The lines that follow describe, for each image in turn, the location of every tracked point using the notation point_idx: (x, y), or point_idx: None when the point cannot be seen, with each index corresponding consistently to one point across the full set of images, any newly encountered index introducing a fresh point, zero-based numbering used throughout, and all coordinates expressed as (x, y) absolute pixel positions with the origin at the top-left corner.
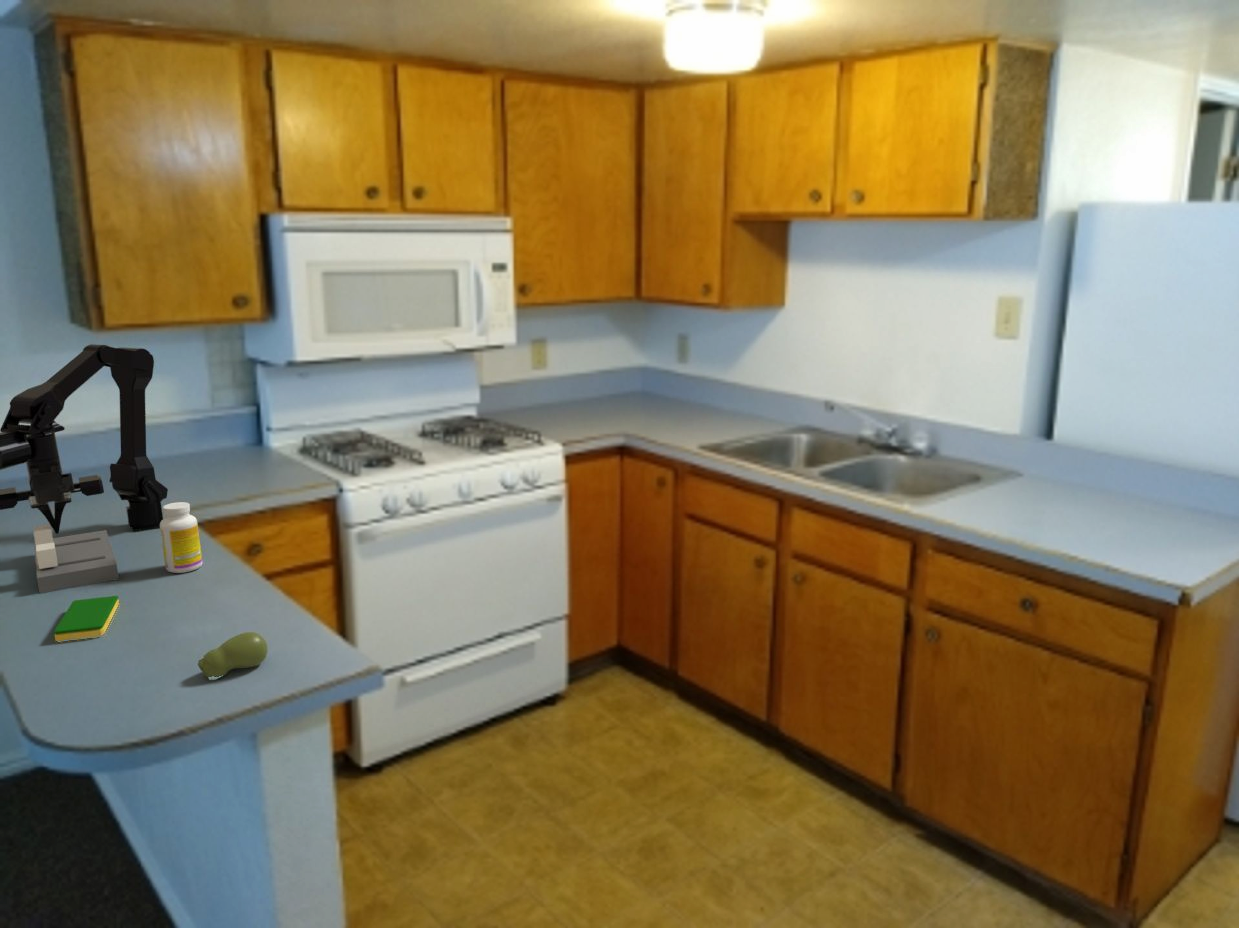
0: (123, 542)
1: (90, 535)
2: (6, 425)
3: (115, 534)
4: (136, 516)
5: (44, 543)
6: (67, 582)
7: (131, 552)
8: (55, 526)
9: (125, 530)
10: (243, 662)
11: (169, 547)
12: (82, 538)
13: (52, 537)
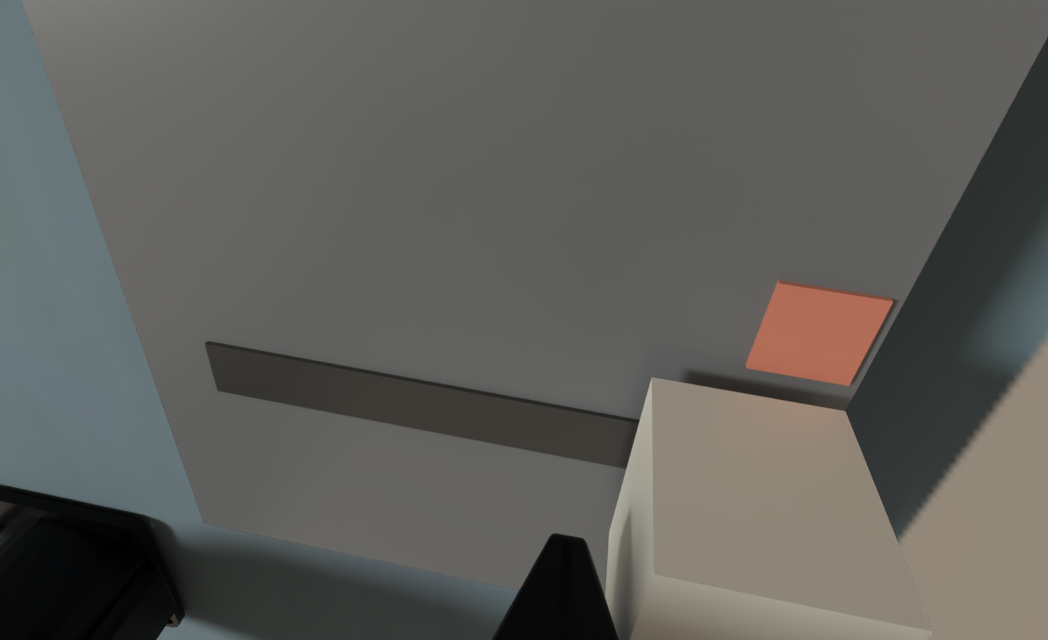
0: None
1: (308, 490)
2: None
3: (244, 547)
4: (61, 613)
5: (755, 434)
6: None
7: (47, 123)
8: (566, 629)
9: (200, 565)
10: None
11: None
12: (369, 465)
13: (637, 499)
